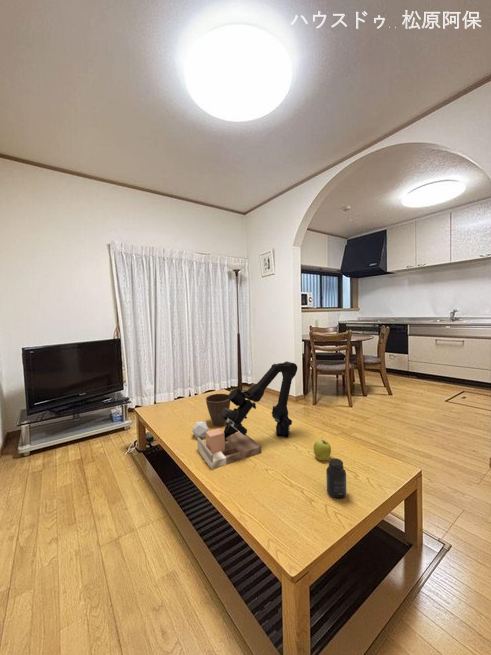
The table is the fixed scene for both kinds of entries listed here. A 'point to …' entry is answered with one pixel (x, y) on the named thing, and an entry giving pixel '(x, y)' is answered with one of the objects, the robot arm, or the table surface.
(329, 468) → the supplement bottle
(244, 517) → the table surface
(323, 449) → the apple
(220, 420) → the plant pot
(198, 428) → the die
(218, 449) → the block
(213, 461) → the brown piece
